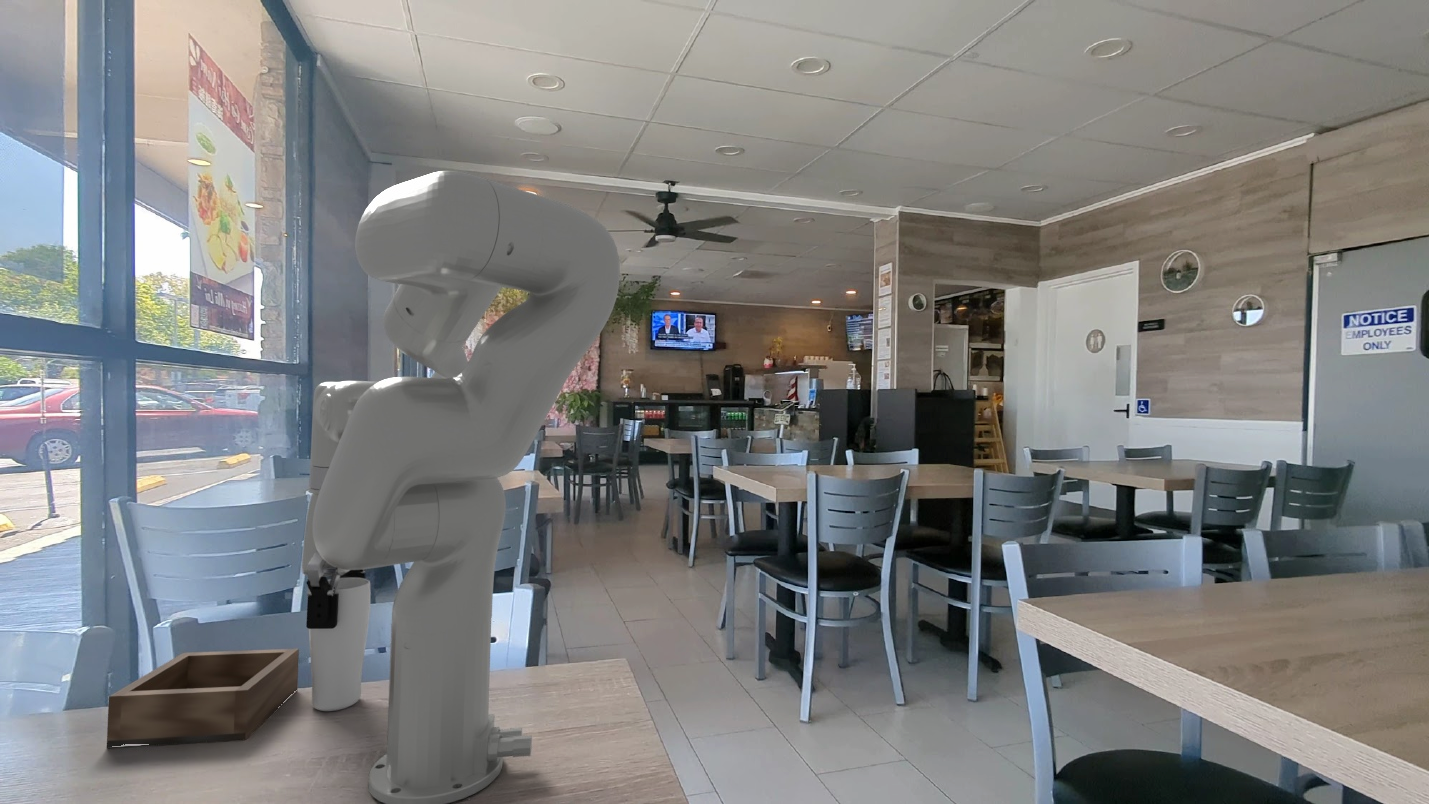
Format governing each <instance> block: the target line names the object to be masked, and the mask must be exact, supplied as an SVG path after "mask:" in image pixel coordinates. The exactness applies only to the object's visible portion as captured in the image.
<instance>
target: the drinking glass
mask: <svg viewBox="0 0 1429 804" xmlns="http://www.w3.org/2000/svg"><path fill="white" fill-rule="evenodd" d="M327 580H328V582H329V584H330V581H331V578H330V579H327ZM335 594H339V598H338V618H337V626H336V627H335V628H333V629H308V636H309V637H308V638H309V639H308V640H309V653H310V654H309V655H310V656H309V657H310V670H311V705H312V707H313V708H314V709H315V710H317V711H320V712H321V711H322V712H335V711H341V710H343V709H347V708H349V707H351V706H354V705H355V704H356V703H358V701H359V700H360V697H361V695H362V693H361V692H362V678H363V677H362V676H363V670H364V661H365V655H366V654H365V652H366V646H367V645H366V644H367V639H368V638H367V637H368V631H369V630H368V629H369V622H370V612H371V581H370V580H369V579H367V578H365V579H364V578H340V579H339V582H338V585H337V589H336V592H335Z"/></svg>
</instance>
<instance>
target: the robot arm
mask: <svg viewBox="0 0 1429 804" xmlns="http://www.w3.org/2000/svg"><path fill="white" fill-rule="evenodd" d="M354 240H355V241H354V244H355V249H354V250H355V254H356V255H355V256H356V260H357V261H358V265H359V266H360V268H361V269H362V271H363V272H364V273H365V274H366V275H367V276H369V277H370V278H371V279H374V280H377V281H380V282H386V283H392V284H397V285H399V286H398V287H397V290H396V291H395V293H394V295H393V296H392V298H391V300H390V302H389V304H388V305H387V307H386V309H385V311H384V313H383V317H382V325H383V331H384V333H385V335H386V336H387V338H388V339H389V341H390V342H391V343H392V345H394V347H395V348H396V349H397V350H399V351H400V352H401V353H402V354H404V355H405V356H406V357H408V358H410V359H411V360H413V361H415V362H417V363H419V364H421V365H422V366H424V367H426V368H427V369H430V370H432V371H433V374H432V375H431V377H425V376H423V377H422V376H396V377H389V378H385V379H383V380H380V381H370V380H369V381H368V380H367V381H365V380H343V381H324V382H320V384H318V385H317V386H316V387H315V389H314V391H313V401H312V402H313V403H312V418H311V419H312V420H311V421H312V422H311V441H310V442H311V443H310V459H309V460H310V462H309V464H310V465H309V481H308V482H309V483H308V493H310V494H311V496H310V500H309V504H308V509H307V515H306V521H305V522H306V523H305V529H304V537H303V545H302V546H303V548H302V558H301V572H302V574H303V575H304V576H307V580H306V586H307V590H306V596H307V606H306V607H307V609H306V624H305V625H306V629H308V630H309V629H333V628H335V627H336V626H337V618H338V598H339V594H335V592H336V589H337V585H338V582H339V579H340V578H364V579H366V570H367V569H368V570H369V569H375V568H383V567H387V566H388V567H390V566H395V565H400V564H401V565H402V564H409V563H412V564H411V566H410V568H409V569H408V571H407V572H406V574H405V576H404V577H403V579H402V581H401V582H400V583H399V586H398V588H397V591H396V594H395V597H394V599H393V604H392V610H391V611H392V612H391V624H390V625H391V627H390V628H391V629H390V651H389V652H390V656H389V679H388V680H389V683H388V684H389V686H388V707H387V709H388V710H387V711H388V712H387V713H388V714H387V736H386V738H387V741H386V753H385V754H384V755H383V756H382V757H380V758H379V759H378V760H377V761H376V762H375V763H374V764H373V765H371V766H372V767H371V768H370V771H369V773H368V781H367V784H368V785H367V786H368V791H369V793H370V794H371V796H372V797H373V799H376V800H377V801H378V802H381V803H382V804H450V803H451V804H452V803H455V802H456V801H460V800H464V799H466V798H468V797H470V796H473V795H475V794H477V793H478V792H480V791H481V790H483V789H485V788H486V787H488V785H490V784H491V783H492V782H494V780H495V779H496V778H498V776H499V775H500V773H501V770H502V768H503V763H504V761H503V758H506V757H508V758H509V757H512V758H519V757H520V758H521V757H523V758H524V757H531V756H532V750H533V749H532V748H533V747H532V745H533V735H532V734H531V735H523V727H514V728H512V727H511V728H507V729H501V728H500V726H495V716H496V715H495V714H494V713H493V714H492V713H491V714H489V707H490V675H491V674H490V672H491V645H492V642H491V641H492V640H491V639H492V619H493V618H492V617H493V600H494V599H493V598H494V597H493V595H494V582H495V581H494V578H495V570H496V562H497V555H498V550H499V549H498V548H499V545H500V540H501V537H502V532H503V529H504V528H503V527H504V523H505V517H506V508H507V507H506V505H507V504H506V503H507V500H506V495H505V490H504V488H503V485H502V482H501V481H500V480H499V479H498V478H500V477H504V476H506V475H508V474H509V473H512V472H513V471H514V470H515V469H516V468H517V467H518V466H519V465H520V463H521V462H522V461H523V459H524V457H525V456H526V454H527V452H528V451H529V449H530V447H531V446H532V444H533V442H534V440H535V438H536V436H537V435H538V433H539V431H540V429H541V427H542V426H543V424H544V422H545V421H546V419H547V417H548V414H549V413H550V412H551V409H552V407H553V405H554V404H555V403H556V400H557V398H559V397H558V396H559V394H560V392H561V390H562V389H563V387H564V385H565V383H566V382H567V380H568V379H569V377H570V375H571V373H572V372H573V371H574V369H575V368H576V367H577V365H578V363H579V362H580V361H581V359H582V358H583V357H584V356H585V355H586V353H587V352H588V351H589V349H590V348H591V346H593V344H594V343H595V342H596V341H597V339H598V337H599V335H600V334H601V333H602V331H603V329H604V327H605V326H606V324H607V322H608V320H609V319H610V316H611V315H612V312H613V310H614V307H615V303H616V300H617V296H618V293H619V288H620V277H621V265H620V257H619V253H618V248H617V245H616V242H615V240H614V239H613V236H612V235H611V233H610V232H609V231H608V229H607V228H606V227H605V226H604V225H603V224H602V223H601V222H600V221H598V220H597V219H596V218H594V217H593V216H591V215H590V214H588V213H586V212H585V211H582V210H580V209H578V208H576V207H574V206H571V205H568V204H566V203H563V202H561V201H557V200H555V199H553V198H552V199H551V198H549V197H547V196H544V195H539V194H536V193H532V192H529V191H526V190H523V189H519V188H516V187H513V186H510V185H508V184H504V183H501V182H498V181H495V180H492V179H489V178H485V177H483V176H478V175H475V174H472V173H469V172H464V171H460V170H440V171H436V172H432V173H429V174H426V175H423V176H420V177H416V178H414V179H411V180H408V181H404V182H401V183H399V184H396V185H393V186H391V187H389V188H387V189H385V190H384V191H382V192H381V193H380V194H378V195H377V196H376V197H375V198H374V199H373V200H372V201H371V202H370V203H369V205H368V206H367V207H366V208H365V210H364V212H363V214H362V215H361V218H360V220H359V223H358V225H357V229H356V233H355V239H354ZM502 288H505V289H509V290H518V291H522V292H527V293H529V295H528V297H527V299H525V301H523V302H521V303H520V304H518V305H517V306H515V307H513V308H512V309H510V310H508V311H507V312H506V313H504V314H502V316H500V317H499V318H498V319H497V320H495V321H494V322H493V323H492V324H491V325H490V326H489V327H488V328H487V329H486V330H485V331H484V332H483V334H482V335H481V336H480V338H479V339H478V341H477V343H476V344H475V347H474V349H473V351H472V354H471V356H470V358H469V359H468V357H467V355H466V353H465V350H464V348H463V346H464V345H465V344H466V342H468V339H469V338H470V336H471V335H472V333H473V331H474V330H475V329H476V327H477V326H478V325H479V322H480V321H481V319H482V318H483V316H484V315H485V313H486V311H487V310H489V308H490V307H491V304H492V303H493V301H494V300H495V298H496V296H497V295H498V294H499V292H500V291H501V289H502ZM328 578H330V579H331V581H330V584H329V582H328V580H329V579H328Z"/></svg>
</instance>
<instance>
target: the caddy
mask: <svg viewBox="0 0 1429 804" xmlns="http://www.w3.org/2000/svg"><path fill="white" fill-rule="evenodd" d="M299 654H300V648H280V649H279V648H278V649H276V648H275V649H253V650H251V649H250V650H226V651H223V650H221V651H198V652H195V651H194V652H193V651H192V652H181V654H179V655H177V656H175V657H174V658H172V659H170V660H168V661H167V662H165V663H163V664H162V665H160V666H157V668H155V669H153V670H151V671H150V672H148V673H146V674H145V675H143V676H142V677H140V678H138V679H136V680H135V681H133V682H131V683H130V684H128V685H125V687H122V688H121V689H119V690H118V691H116V692H114V693H112V694H110V695H109V696H108V705H107V706H108V709H107V732H106V733H107V734H106V749H109V748H108V747H112V746H121V745H123V744H124V745H125V744H149V745H155V746H167V745H168V746H169V745H170V746H171V745H185V744H188V745H189V744H203V743H218V742H221V743H222V742H223V743H224V742H236V741H237V742H238V741H247V739H249V738H250V737H251V736H252V734H254V733H255V732H256V731H257V730H258V729H259V728H260V727H261V726H262V725H264V724H265V722H266V721H267V720H269V719H270V718H271V717H272V716H273V715H272V714H273V713H274V712H275V711H276V710H277V709H278V707H279V706H281V704H283V702H284V701H285V700H286V699H287V698H288V697H289V696H290V695H291V694H293V693H294V691H296V690H297V691H298V687H299V684H298V683H299V662H300V661H299V660H300V659H299V657H300V656H299ZM283 705H284V704H283ZM281 707H282V706H281ZM278 710H279V709H278ZM278 710H277V711H278ZM277 711H276V712H277ZM276 712H275V713H276ZM275 713H274V714H275ZM271 715H272V716H271ZM270 716H271V717H270Z"/></svg>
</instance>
